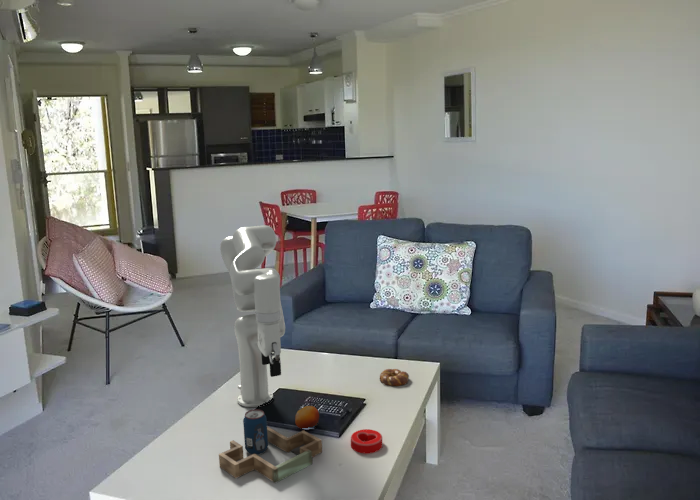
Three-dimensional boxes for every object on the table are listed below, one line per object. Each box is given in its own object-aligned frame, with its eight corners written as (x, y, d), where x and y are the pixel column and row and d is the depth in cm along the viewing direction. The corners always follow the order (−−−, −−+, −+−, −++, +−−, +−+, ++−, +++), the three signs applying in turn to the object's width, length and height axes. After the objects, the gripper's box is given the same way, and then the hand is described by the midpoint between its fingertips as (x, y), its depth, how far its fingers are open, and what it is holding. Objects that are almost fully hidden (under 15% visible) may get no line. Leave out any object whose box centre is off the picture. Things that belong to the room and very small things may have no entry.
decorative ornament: (352, 455, 184) (351, 445, 183) (350, 438, 193) (349, 429, 193) (384, 453, 184) (384, 443, 184) (380, 437, 194) (380, 427, 193)
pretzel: (372, 381, 236) (372, 371, 235) (392, 373, 243) (392, 364, 242) (394, 390, 227) (394, 380, 226) (415, 381, 234) (415, 372, 233)
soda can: (254, 442, 192) (252, 406, 190) (272, 447, 189) (270, 410, 187) (240, 453, 186) (238, 416, 184) (259, 458, 183) (257, 421, 180)
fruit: (321, 430, 196) (308, 409, 195) (301, 440, 198) (288, 419, 197) (327, 418, 203) (314, 398, 203) (308, 428, 206) (295, 408, 205)
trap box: (212, 461, 182) (211, 449, 181) (282, 430, 199) (281, 419, 198) (256, 492, 166) (255, 479, 165) (328, 455, 183) (327, 443, 183)
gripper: (249, 309, 190) (252, 361, 194) (263, 326, 175) (266, 382, 178) (273, 306, 193) (275, 357, 197) (289, 322, 177) (291, 378, 181)
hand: (271, 369), depth 188 cm, fingers open, 9 cm apart
